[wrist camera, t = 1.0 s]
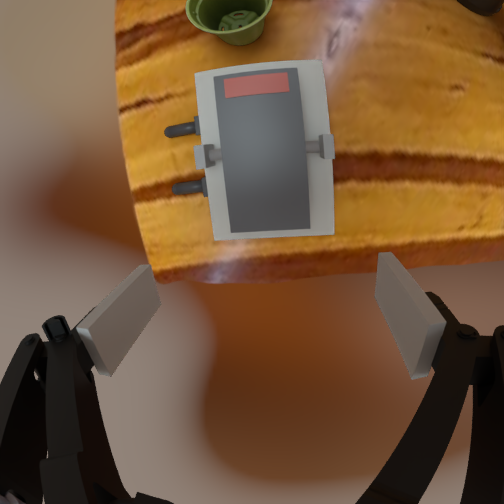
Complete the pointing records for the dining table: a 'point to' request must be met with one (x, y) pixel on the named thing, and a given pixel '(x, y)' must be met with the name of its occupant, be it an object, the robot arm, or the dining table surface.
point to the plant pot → (229, 18)
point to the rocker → (263, 150)
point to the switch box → (316, 162)
